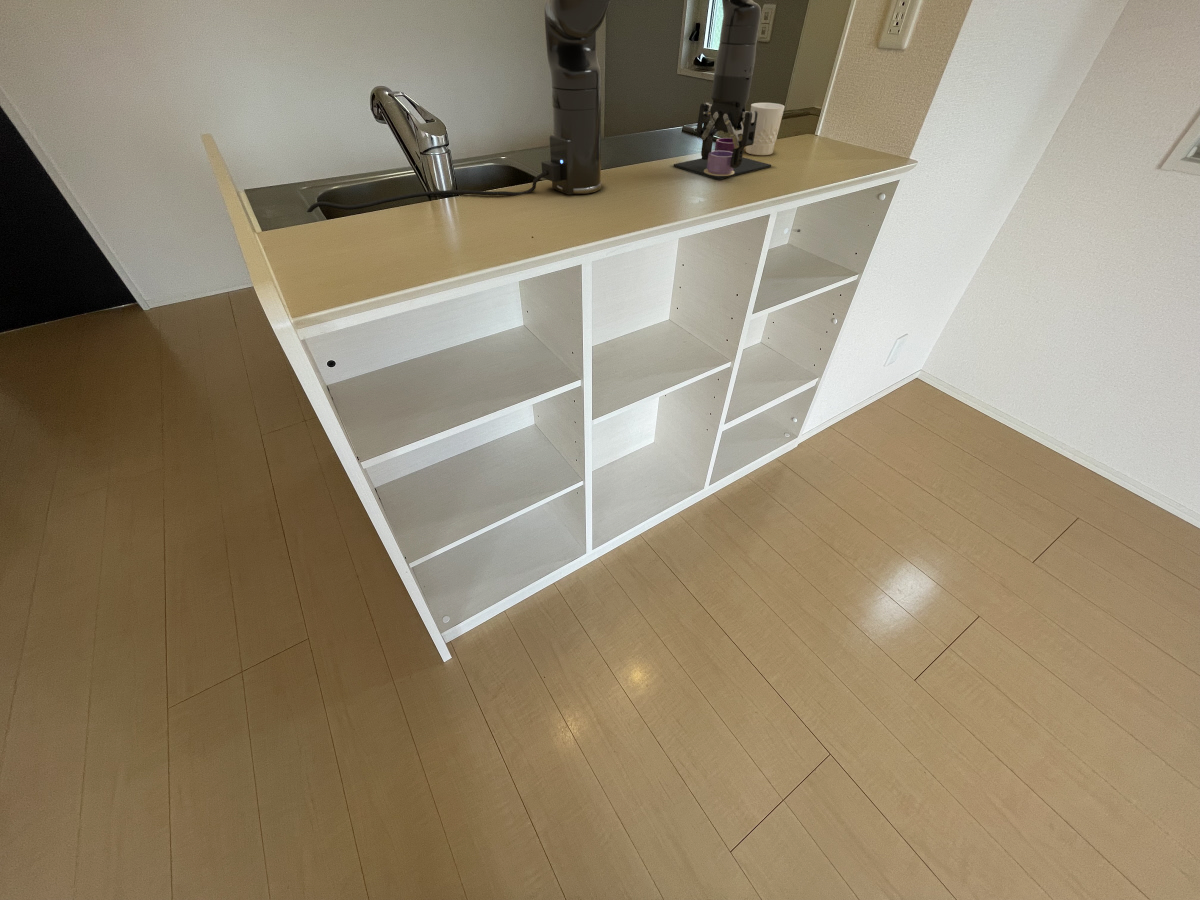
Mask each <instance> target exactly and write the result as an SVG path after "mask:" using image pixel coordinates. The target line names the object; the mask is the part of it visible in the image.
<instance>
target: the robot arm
mask: <svg viewBox="0 0 1200 900" xmlns="http://www.w3.org/2000/svg"><path fill="white" fill-rule="evenodd" d="M611 1H612V0H543V14H544V15H543V16H544V30H545V31H544V32H545V44H546V45H545V47H546V60H547V65H548V71H549V76H550V89H551V108H552V109H551V110H552V111H551V112H552V128H553V129H552V131H553V133H552V134H550V135H549V154H550V160H545V161H541V173H539V174H538V175H537V176H536V177H534V179H533V181H532V184H531V185H532V186H531V187H530V188H529V189H527V190H525V191H518V192H517V191H506V190H505V191H502V190H501V191H494V190H493V191H489V190H487V191H486V190H470V189H456V190H455V189H453V190H452V189H450V190H449V189H448V190H447V189H446V190H429V191H421V192H413V193H406V194H401V195H396V196H395V195H394V196H390V197H385V198H380V199H376V200H373V201H368V202H363V203H358V204H349V205H348V204H347V205H346V204H339V203H335V202H329V201H318V202H317V201H316V202H315V203H312V204H311V205H310V206H309V208H307V210H306V213H313V211H315V209H317V208H319V207H329V208H334V209H338V210H346V211H348V210H349V211H351V210H359V209H366V208H370V207H374V206H378V205H382V204H386V203H391V202H397V201H401V200H407V199H414V198H420V197H421V198H422V197H429V196H441V195H442V196H443V195H446V196H447V195H475V196H490V197H491V196H492V197H493V196H508V197H515V196H521V195H527V194H531V193H533V192H534V191H535V190H536V188H537V183H538V182H539V181H540V180H541V179H546V180H547V181H549V182H551V189H553V190H556V191H558V192H561V193H562V194H566V195H567V196H570V195H585V194H592V193H596V192H598V191H600V190H601V189H602V179H601V178H602V174H601V173H602V167H601V166H602V146H601V145H602V141H601V140H602V139H601V138H602V70H601V69H602V68H601V66H600V64H599V59H598V53H597V52H598V51H597V31H598V30H599V29H600V28H601V27H602V25H603V22H604V20H605V17H606V15H607V13H608V12H607V11H608V9H609V6H610V3H611ZM721 3H722V14H723V15H722V21H721V29H720V30H721V31H720V37H719V44H718V49H717V53H716V58H715V66H714V73H713V79H712V80H713V81H712V89H711V97H710V98H711V100H712V102H710V101H708V102H702V103H701V104H700V105H699V112H698V116H697V123H696V130H695V134H696V136H700V138H701V140H702V143H701V151H700V157H701V158H702V159H703V160H707V159H708V154H709V152H711V151H713V144H714V143H713V142H714V139H713V138H714V137H715V135H716V134H717V133H718V132H723V133H725V134H728V137H729V138H732V140H733V143H734V147H735V148H733V153H732V159H731V165H730V167H731V168H737V167H739V165H740V164H741V162H742V157H743V158H744V150H745V149H746V146H749V145H753V143H754V137H755V130H756V123H757V116H758V113H757V111H751V112H750V111H747V110H746V104H747V102H748V101H749V98H750V91H751V86H752V82H753V81H752V80H753V74H754V69H755V63H756V55H757V54H756V52H757V51H756V50H757V43H758V38H759V32H760V25H761V19H762V8H761V6H760V4H759V3H757V2H755V1H754V0H721Z"/></svg>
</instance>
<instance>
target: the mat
mask: <svg viewBox="0 0 1200 900" xmlns="http://www.w3.org/2000/svg"><path fill="white" fill-rule="evenodd" d="M707 162H708V159H707V160H703V159H702V157H701V158H696V159H691V160H686V161H683V162H678V163H673V167H674V168H677V169H681V170H684V171H686V172H691V173H693V174H696V175H701V176H703V177H707V178H710V179H713V180H717V181H719V180H724V179H728V178H732V177H736V176H739V175H744V174H749V173H752V172H756V171H761V170H765V169H769V168H771V167H772V164H770V163H766V162H761V161H758V160H754V159H751V158H746V157H744V156H743V157H742V162H741V164H740V165H739V167H737V168H733V171H731V173H729V174H713V173H710V172H708V169H707Z"/></svg>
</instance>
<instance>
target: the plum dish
mask: <svg viewBox="0 0 1200 900" xmlns="http://www.w3.org/2000/svg"><path fill="white" fill-rule="evenodd" d="M714 146H715V147H714V151H730V152H733V148H735V147H734V143H733V140H732V138H730V137H719V138H717V139H716V140H715V144H714Z"/></svg>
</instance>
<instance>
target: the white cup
mask: <svg viewBox="0 0 1200 900" xmlns="http://www.w3.org/2000/svg"><path fill="white" fill-rule="evenodd" d="M751 111H757V113H758V116H757V123H756V130H755V137H754V143H753V145H749V146H746V147H745V149H744V150H745V152H746V154H749V155H753V156H769V155H772V154H773V153H774V149H775V145H776V141H777V139H778V134H779V132H780V128H781V123H782V119H783V116H784V111H785V105H783V104H781V103H775V102H755V103H751V104H750V111H749V112H751Z"/></svg>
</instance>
